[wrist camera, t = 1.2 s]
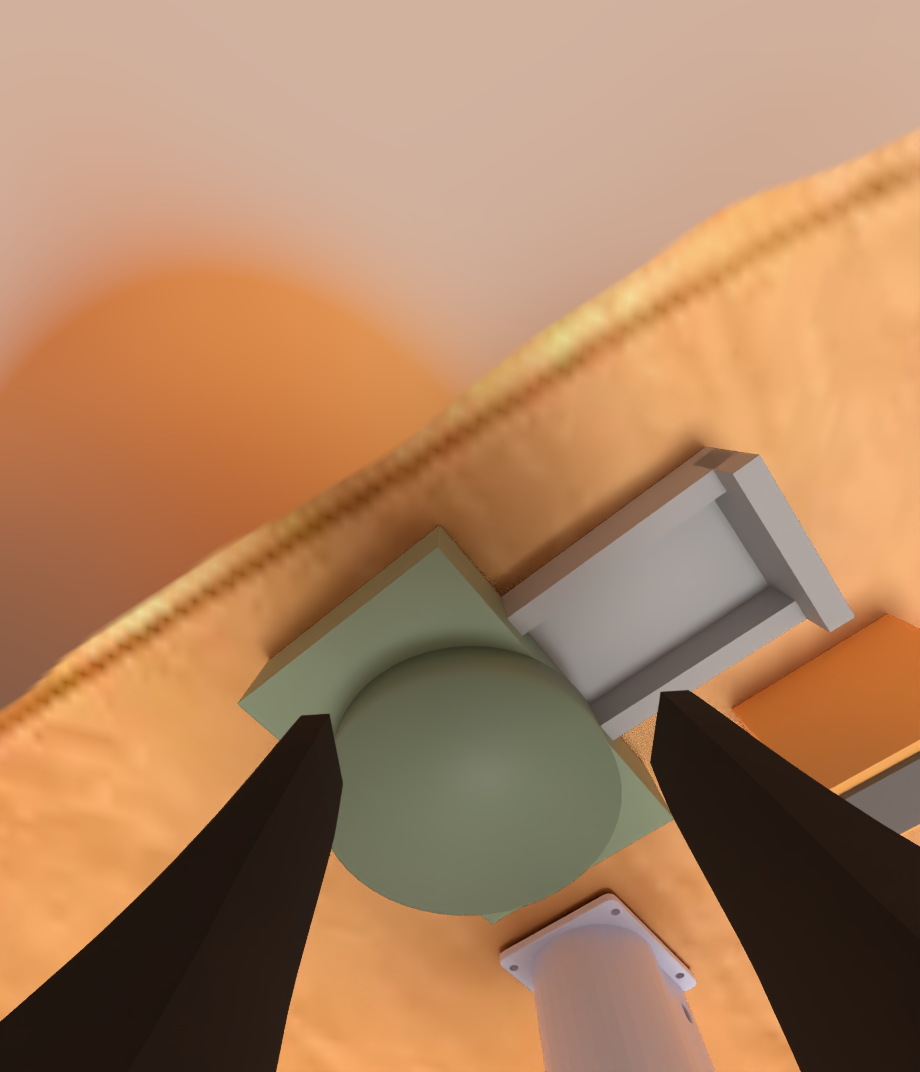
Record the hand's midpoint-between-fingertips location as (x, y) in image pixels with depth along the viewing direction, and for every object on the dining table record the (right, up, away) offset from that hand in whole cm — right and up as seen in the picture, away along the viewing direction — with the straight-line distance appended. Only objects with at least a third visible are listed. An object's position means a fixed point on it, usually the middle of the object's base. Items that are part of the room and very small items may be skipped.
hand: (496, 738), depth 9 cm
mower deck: (+3, -1, +10) cm, 11 cm away
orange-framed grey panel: (+17, -3, +11) cm, 20 cm away
